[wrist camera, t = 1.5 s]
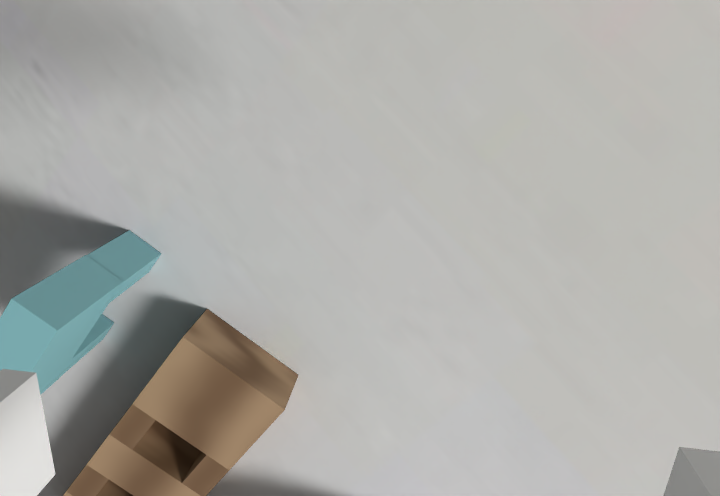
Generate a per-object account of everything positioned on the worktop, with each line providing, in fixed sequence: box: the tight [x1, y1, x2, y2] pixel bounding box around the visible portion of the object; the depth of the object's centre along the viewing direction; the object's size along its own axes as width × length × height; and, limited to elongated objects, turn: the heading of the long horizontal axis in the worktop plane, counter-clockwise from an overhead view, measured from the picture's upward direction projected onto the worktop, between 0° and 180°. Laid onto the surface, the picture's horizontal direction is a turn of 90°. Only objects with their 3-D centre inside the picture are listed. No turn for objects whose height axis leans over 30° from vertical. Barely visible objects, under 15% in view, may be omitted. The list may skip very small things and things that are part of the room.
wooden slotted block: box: [63, 309, 298, 496], centre depth 40 cm, size 8×24×4 cm, turn 142°
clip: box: [0, 230, 161, 395], centre depth 32 cm, size 3×9×11 cm, turn 142°
